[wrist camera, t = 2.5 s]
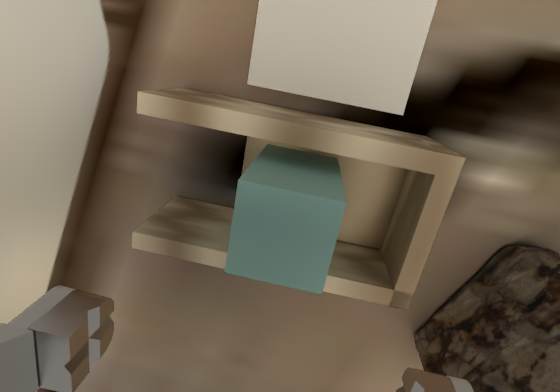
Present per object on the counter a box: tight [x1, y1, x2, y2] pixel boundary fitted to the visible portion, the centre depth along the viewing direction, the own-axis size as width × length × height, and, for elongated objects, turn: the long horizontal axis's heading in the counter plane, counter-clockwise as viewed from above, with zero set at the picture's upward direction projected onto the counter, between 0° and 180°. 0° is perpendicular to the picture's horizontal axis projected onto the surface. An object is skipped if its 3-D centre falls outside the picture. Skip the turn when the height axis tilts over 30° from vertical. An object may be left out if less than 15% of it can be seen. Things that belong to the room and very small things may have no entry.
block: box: [224, 144, 347, 295], centre depth 20 cm, size 5×5×9 cm
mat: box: [247, 0, 438, 115], centre depth 22 cm, size 11×11×1 cm
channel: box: [132, 88, 466, 310], centre depth 23 cm, size 18×10×7 cm, turn 80°
